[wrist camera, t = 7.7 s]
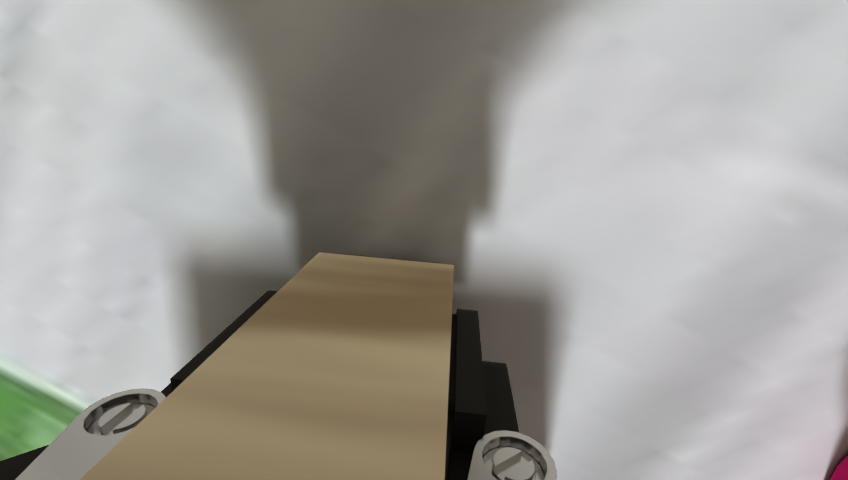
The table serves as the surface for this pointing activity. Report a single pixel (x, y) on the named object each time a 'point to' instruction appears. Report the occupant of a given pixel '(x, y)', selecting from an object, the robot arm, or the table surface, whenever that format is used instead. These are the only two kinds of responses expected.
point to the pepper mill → (841, 470)
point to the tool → (313, 385)
